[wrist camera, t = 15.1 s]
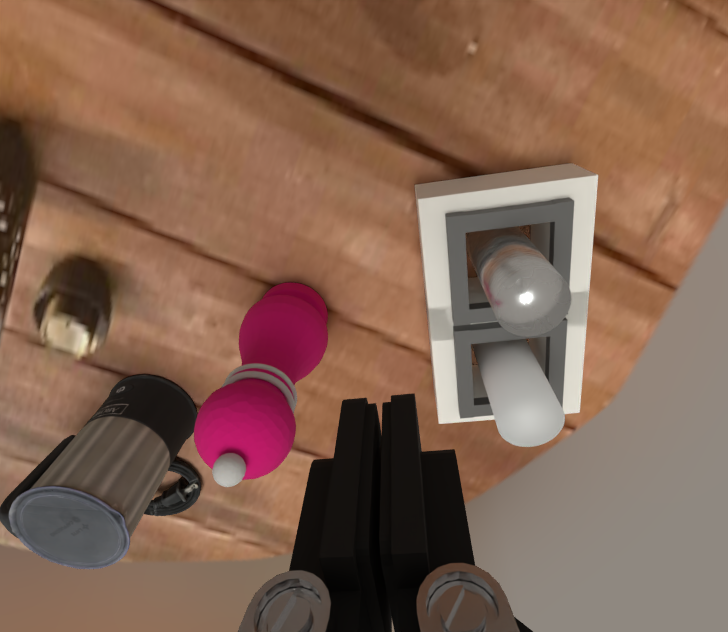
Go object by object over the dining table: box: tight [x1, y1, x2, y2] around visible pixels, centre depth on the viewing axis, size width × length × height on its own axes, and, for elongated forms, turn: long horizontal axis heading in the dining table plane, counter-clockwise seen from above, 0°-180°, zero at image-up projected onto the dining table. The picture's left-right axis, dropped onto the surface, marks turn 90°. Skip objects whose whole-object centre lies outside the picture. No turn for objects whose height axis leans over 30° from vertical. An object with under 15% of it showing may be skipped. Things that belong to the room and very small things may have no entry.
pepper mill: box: [194, 282, 328, 487], centre depth 33 cm, size 7×7×20 cm
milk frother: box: [0, 375, 201, 569], centre depth 44 cm, size 14×16×15 cm
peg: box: [466, 226, 571, 337], centre depth 33 cm, size 4×4×12 cm
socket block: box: [415, 163, 598, 447], centre depth 35 cm, size 20×12×12 cm, turn 8°
